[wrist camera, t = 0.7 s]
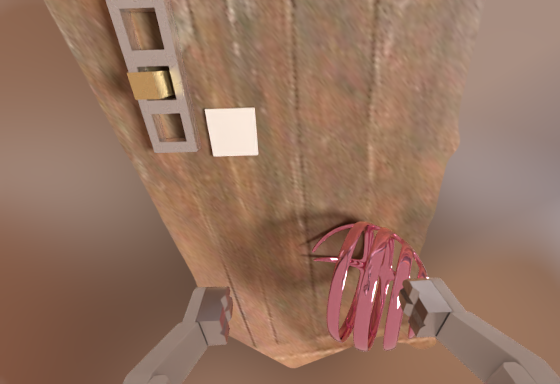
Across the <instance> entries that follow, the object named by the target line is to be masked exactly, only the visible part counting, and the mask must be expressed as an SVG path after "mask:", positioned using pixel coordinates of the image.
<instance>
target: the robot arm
mask: <svg viewBox="0 0 560 384" xmlns="http://www.w3.org/2000/svg"><path fill="white" fill-rule="evenodd" d="M402 285H403V287H404V288H402V289H401V290H400V291H399V295H398V298H399V303H400V306H401V308H402V311H403V312H404V313H405V314H406V315H408V316H409V320H408V322H409V324H410V326H411V328H412V330H413V332H414V334H415V336H416V337H436V339H437V340H439V341H440V342H441V343H442V344H443V345H444V346H445V347H446V348H447V349H448V350H449V351H450V352H451V353H452V354H453V355H455V356H456V357H457V358H458V359H459V360H460V361H461V362H462V363H463V364H464V365H465V366H466V367H467V368H469V369H470V370H471V371H472V372H473V373H474V374H475V375H476V376H477V377H478V378H479V379H480V380H481V381H482V382H484V384H560V378H559V376H558V375H557V374H556V373H555V372H554V371H553V370H552V368H551V367H550V366H549V365H548V364H547V363H546V362H545V361H544V360H543V359H541V358H540V357H539V356H537V355H535V354H534V353H532V352H531V351H529V350H528V349H526V348H525V347H523V346H522V345H520V344H519V343H517V342H515V341H514V340H512V339H511V338H509V337H508V336H506V335H505V334H503V333H502V332H500V331H499V330H497V329H496V328H494V327H493V326H491V325H489V324H488V323H487V322H485V321H483V320H482V319H480V318H479V317H477V316H476V315H474V314H473V313H471V312H466V310H465V309H464V308H463V307H462V305H461V304H460V303H459V301H458V300H457V299H456V297H455V296H454V295H453V294H452V292H451V291H450V290H449V288H448V287H447V286H446V285H445V283H444V282H443V280H441V279H440V278H418V279H405V280H404V281H403V283H402ZM229 295H230V289H229V287H196V288H195V290H194V291H193V294H192V297H191V299H190V302H189V305H188V308H187V310H186V313H185V316H184V319H183V321H182V323H178V324H177V325H176V326H175V327H174V328H173V329H172V330H171V331H170V332H169V333H168V334H167V335H166V336H165V337H164V338H163V339H162V340H161V341H160V342H159V343H158V344H157V345H156V346H155V347H154V348H153V349H152V350H151V351H150V352H149V353H148V354H147V355H146V357H144V358H143V360H142V361H140V363H138V364H137V365H136V366H135V367H134V369H132V371H131V372H130V373H129V374H128V375H127V376H126V378H125V381H124V383H123V384H182V382H183V381H184V380H185V378H186V377H187V376H188V374H189V373H190V371H191V370H192V368H193V367H194V365H195V364H196V363H197V361H198V360H199V358H200V357H201V356H202V354H203V353H204V351H205V350H206V349H207V347H208V345H222V344H227V340H228V335H229V329H230V328H229V324H228V322H229V321H230V320H231V318H232V310H233V301H232V297H231V296H229Z"/></svg>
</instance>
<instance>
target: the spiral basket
mask: <svg viewBox="0 0 560 384" xmlns="http://www.w3.org/2000/svg"><path fill="white" fill-rule="evenodd" d="M350 228H351V229H350ZM345 229H350V231H349V232H348V234H347V236H346V238H345V240H344V243H343V245H342V247H341V250H340V253H339V256H338V257H320V258H316V259H314V261H326V262H334V263H336V265H335V269H334V272H333V276H332V281H331V285H330V291H329V296H328V304H327V329H328V333H329V335H330V336H331V337H332V338H333V339H334V340H336V341H337V342H340V343H343V342H345V341H346V340H347V339H348V337H349V336H350V334H351V332H352V330H353V328H354V332H353V341H354V346H355V348H356V349H357V350H359V351H364V352H367V351H369V350H370V349H371V347H372V345H373V343H374V340H375V337H376V334H377V331H378V327H379V324H380V320H381V316H382V312H383V308H384V303H385V299H386V294H387V289H388V285H389V282H390V281H391V280H393V281H394V282H393V287H392V292H391V297H390V302H389V308H388V313H387V319H386V325H385V332H384V341H383V349H384V350H386V351H389V350H393V349H395V348H396V345H397V341H398V336H399V331H400V326H401V321H402V316H403V311H402V308H401V306H400V303H399V298H398V295H399V291H400V290H401V289H402V288H404V287H403V285H402V283H403V281H404V280H405V279H410V271H411V266H412V260H413V257H414V259H415V260H416V262H417V264H418V266H419V272H418V277H417V279H418V278H428V276H427V272H426V269H425V267H424V265H423V263H422V262H421V260H420V258H419V257H418V255H417V254H416V252H415V251H414V249H413V248H412V247H411V246H410V245H409V244H408V243H407V242H406V241H404V240H403V239H402V238H400V237H399V236H398V235H396V234H395V233H394V232H393V231H391V230H390V229H388V228H385V227H380V226H377V225H374V224H371V223H369V222H365V221H359V222H357V223H353V224H347V225H343V226H340V227H338V228H335V229H333V230H331V231H330V232H328V233H327V234H326V235H324V236H323V237H322V238H321V239H320V240H319V241H318V242H317V244H316V245H315V246H314V248H313V250H312V252H314V251H315V250H316V249H317V248H318V247H319V245H320V244H321V243H322V242H323V241H324V240H326V239H327V238H328V237H330V236H331V235H333V234H335V233H337V232H339V231H342V230H345ZM363 230H364V252H363V257H362V258H361V259H353V258H352V255H353V252H354V249H355V246H356V244H357V241H358V239H359V237H360V235H361V233H362V231H363ZM374 230H377V231H378V233H377V234H376V237H375V239H374ZM395 240H397V241H398V242H400V243H401V244H402V249H401V252H400V256H399V260H398V264H397V268H396V272H395V271H394V270H393V269H392V261H393V253H394V241H395ZM382 260H383V261H382ZM349 266H353V267H356V268H358V269H359V270H360V276H359V280H358V284H357V288H356V292H355V295H354V298H353V301H352V304H351V307H350V310H349V312H348V315H347V317H346V319H345V321H344V323H343V325H342V326H341V328H340V329H339V313H340V305H341V299H342V293H343V288H344V284H345V279H346V275H347V271H348V268H349ZM378 276H379V284H378V289H377V293H376V298H375V302H374V306H373V309H372V305H373V300H374V295H375V290H376V285H377V281H378ZM371 311H372V313H371ZM414 336H415V334H414V332H413V330H412V328H411V326H410V324H409V330H408V339H412V338H413V337H414Z"/></svg>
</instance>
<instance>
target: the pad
mask: <svg viewBox="0 0 560 384" xmlns="http://www.w3.org/2000/svg"><path fill="white" fill-rule="evenodd" d="M205 114H206V119H207V125H208V130H209V135H210V141H211V146H212V151H213V156H241V155H258V143H257V131H256V118H255V107H243V108H213V109H205Z"/></svg>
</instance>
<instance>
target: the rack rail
mask: <svg viewBox="0 0 560 384" xmlns="http://www.w3.org/2000/svg"><path fill="white" fill-rule="evenodd" d="M106 3H107V7H108V10H109V13H110V16H111V19H112V22H113V25H114V28H115V31H116V34H117V38H118V41H119V44H120V47H121V50H122V53H123V56H124V59H125V62H126V65H127V69H128V72H129V73H130V72H147V70H146V67H148V66H169V70H170V74H171V78H172V82H173V86H174V90H175V95H176V98H162V99H146V100H138V103H139V106H140V109H141V112H142V115H143V118H144V121H145V124H146V127H147V130H148V134H149V137H150V140H151V143H152V146H153V149H154V152H155V153H167V152H197V151H198V150H199V149H200V148H201V142H200V137H199V133H198V128H197V123H196V118H195V114H194V109H193V104H192V99H191V95H190V90H189V85H188V80H187V76H186V71H185V66H184V61H183V57H182V52H181V47H180V42H179V38H178V33H177V28H176V23H175V19H174V14H173V9H172V4H171V0H106ZM130 12H156V16H157V20H158V24H159V28H160V32H161V37H162V41H163V45H164V49H165V50H141V49H140V46H139V43H138V39H137V36H136V32H135V29H134V25H133V22H132V18H131V15H130ZM171 113H180V115H181V119H182V124H183V128H184V132H185V136H186V138H166V137H165V133H164V130H163V126H162V123H161V119H160V116H159V114H171Z"/></svg>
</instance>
